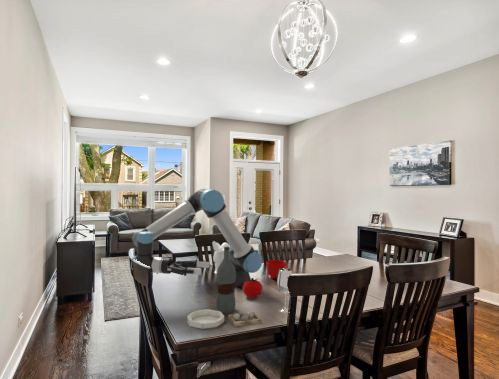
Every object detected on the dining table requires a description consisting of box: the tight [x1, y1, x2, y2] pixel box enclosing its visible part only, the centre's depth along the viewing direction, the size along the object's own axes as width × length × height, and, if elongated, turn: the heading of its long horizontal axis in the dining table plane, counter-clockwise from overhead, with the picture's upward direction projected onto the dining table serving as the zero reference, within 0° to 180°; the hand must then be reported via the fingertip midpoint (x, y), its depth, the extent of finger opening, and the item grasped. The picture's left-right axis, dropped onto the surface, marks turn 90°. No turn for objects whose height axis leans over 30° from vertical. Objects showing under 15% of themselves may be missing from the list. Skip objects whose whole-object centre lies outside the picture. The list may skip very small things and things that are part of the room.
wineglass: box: [276, 267, 293, 313], centre depth 159 cm, size 8×8×20 cm
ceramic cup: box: [265, 259, 289, 280], centre depth 216 cm, size 13×17×10 cm
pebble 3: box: [246, 311, 254, 319], centre depth 148 cm, size 3×3×3 cm
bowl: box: [186, 308, 225, 330], centre depth 145 cm, size 15×15×3 cm
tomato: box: [242, 277, 263, 299], centre depth 179 cm, size 10×10×10 cm
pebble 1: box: [233, 312, 240, 321], centre depth 146 cm, size 3×3×3 cm
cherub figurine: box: [212, 240, 230, 275], centre depth 224 cm, size 12×12×22 cm
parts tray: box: [227, 311, 262, 327], centre depth 146 cm, size 12×9×2 cm
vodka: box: [215, 246, 236, 314], centre depth 159 cm, size 9×9×30 cm
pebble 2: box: [241, 315, 248, 321], centre depth 145 cm, size 3×3×3 cm
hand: (205, 268), depth 160 cm, fingers open, 13 cm apart
